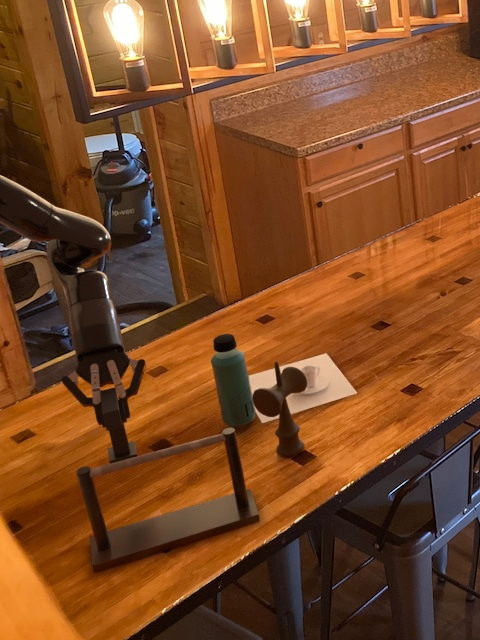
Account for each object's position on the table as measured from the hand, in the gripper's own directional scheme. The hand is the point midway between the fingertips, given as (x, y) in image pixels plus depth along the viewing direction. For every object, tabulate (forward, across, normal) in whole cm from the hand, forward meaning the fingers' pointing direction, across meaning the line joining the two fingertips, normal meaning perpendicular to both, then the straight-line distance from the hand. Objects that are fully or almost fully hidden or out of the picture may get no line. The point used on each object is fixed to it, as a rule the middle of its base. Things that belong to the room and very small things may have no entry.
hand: (115, 423), depth 161 cm
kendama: (+10, +28, +15) cm, 33 cm away
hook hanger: (+6, 0, +6) cm, 8 cm away
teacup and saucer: (-6, +34, +31) cm, 46 cm away
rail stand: (+20, +6, +5) cm, 21 cm away
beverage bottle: (0, +21, +25) cm, 33 cm away
